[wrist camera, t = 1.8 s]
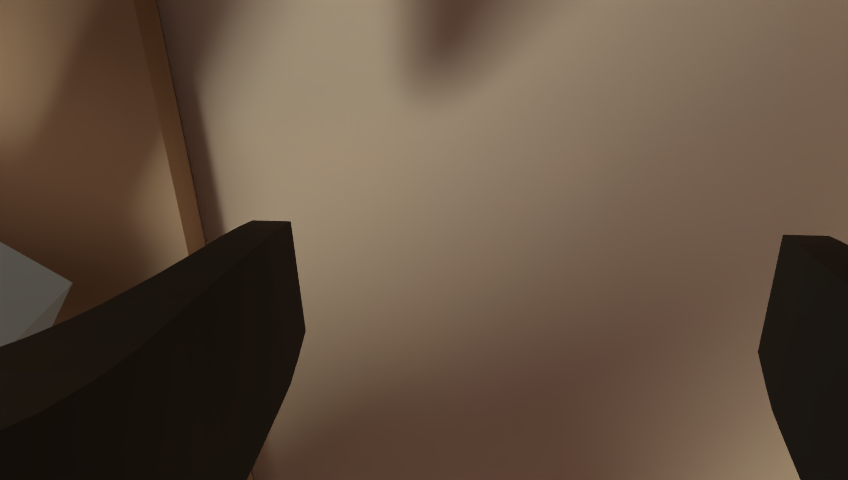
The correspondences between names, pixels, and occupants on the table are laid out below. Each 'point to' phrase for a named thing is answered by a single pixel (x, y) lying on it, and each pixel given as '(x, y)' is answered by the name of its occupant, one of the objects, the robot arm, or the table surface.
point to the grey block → (27, 296)
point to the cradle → (92, 146)
